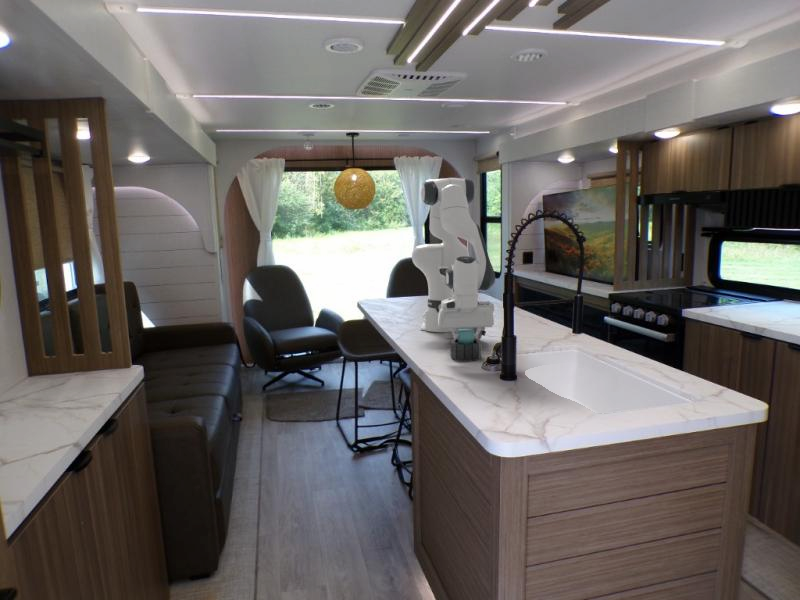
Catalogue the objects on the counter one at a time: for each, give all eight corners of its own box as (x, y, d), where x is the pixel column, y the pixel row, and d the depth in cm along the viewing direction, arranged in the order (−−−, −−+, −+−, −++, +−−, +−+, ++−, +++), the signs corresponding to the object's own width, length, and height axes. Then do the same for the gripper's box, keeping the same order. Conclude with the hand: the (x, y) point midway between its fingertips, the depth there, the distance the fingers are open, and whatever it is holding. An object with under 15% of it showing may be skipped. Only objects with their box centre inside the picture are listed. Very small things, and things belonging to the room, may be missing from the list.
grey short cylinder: (448, 353, 202) (448, 338, 201) (477, 353, 203) (477, 337, 202) (453, 361, 191) (452, 345, 190) (483, 360, 192) (483, 344, 191)
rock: (479, 354, 210) (494, 319, 209) (456, 345, 208) (471, 310, 207) (465, 342, 232) (479, 310, 231) (444, 334, 230) (458, 302, 229)
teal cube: (456, 342, 199) (456, 328, 198) (472, 341, 199) (472, 328, 199) (458, 345, 193) (458, 332, 192) (475, 345, 193) (475, 331, 193)
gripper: (492, 299, 197) (492, 336, 200) (437, 301, 196) (437, 338, 199) (496, 302, 191) (495, 340, 193) (439, 304, 190) (439, 342, 192)
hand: (465, 339), depth 196 cm, fingers closed on teal cube, 6 cm apart
